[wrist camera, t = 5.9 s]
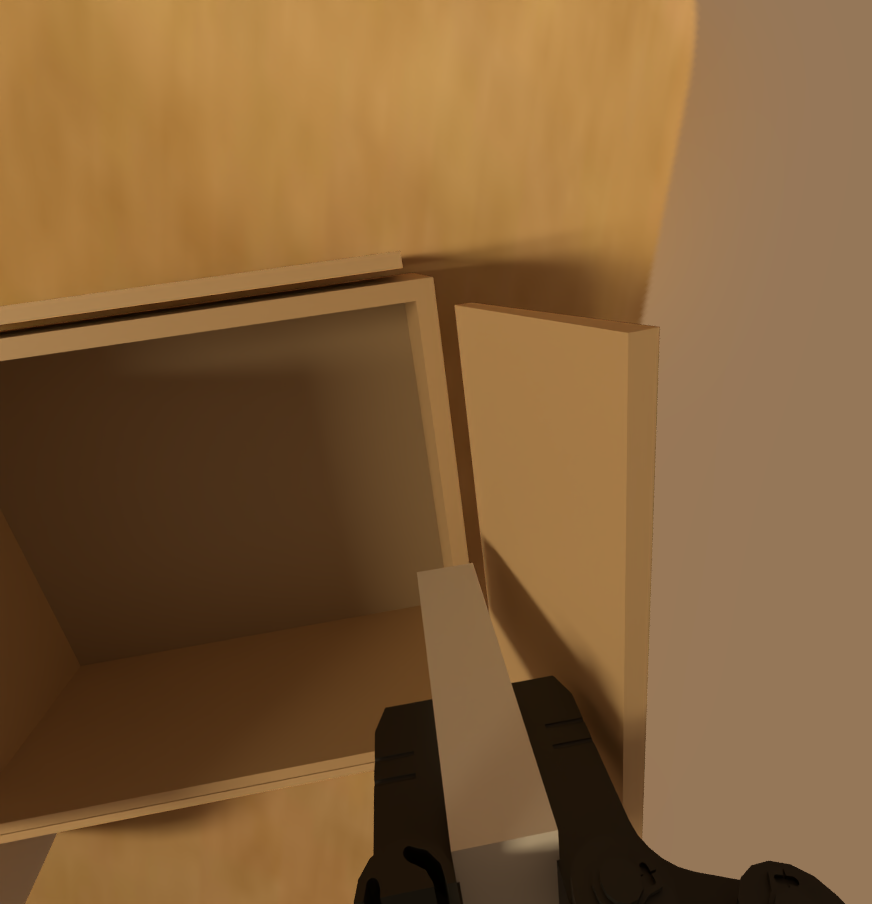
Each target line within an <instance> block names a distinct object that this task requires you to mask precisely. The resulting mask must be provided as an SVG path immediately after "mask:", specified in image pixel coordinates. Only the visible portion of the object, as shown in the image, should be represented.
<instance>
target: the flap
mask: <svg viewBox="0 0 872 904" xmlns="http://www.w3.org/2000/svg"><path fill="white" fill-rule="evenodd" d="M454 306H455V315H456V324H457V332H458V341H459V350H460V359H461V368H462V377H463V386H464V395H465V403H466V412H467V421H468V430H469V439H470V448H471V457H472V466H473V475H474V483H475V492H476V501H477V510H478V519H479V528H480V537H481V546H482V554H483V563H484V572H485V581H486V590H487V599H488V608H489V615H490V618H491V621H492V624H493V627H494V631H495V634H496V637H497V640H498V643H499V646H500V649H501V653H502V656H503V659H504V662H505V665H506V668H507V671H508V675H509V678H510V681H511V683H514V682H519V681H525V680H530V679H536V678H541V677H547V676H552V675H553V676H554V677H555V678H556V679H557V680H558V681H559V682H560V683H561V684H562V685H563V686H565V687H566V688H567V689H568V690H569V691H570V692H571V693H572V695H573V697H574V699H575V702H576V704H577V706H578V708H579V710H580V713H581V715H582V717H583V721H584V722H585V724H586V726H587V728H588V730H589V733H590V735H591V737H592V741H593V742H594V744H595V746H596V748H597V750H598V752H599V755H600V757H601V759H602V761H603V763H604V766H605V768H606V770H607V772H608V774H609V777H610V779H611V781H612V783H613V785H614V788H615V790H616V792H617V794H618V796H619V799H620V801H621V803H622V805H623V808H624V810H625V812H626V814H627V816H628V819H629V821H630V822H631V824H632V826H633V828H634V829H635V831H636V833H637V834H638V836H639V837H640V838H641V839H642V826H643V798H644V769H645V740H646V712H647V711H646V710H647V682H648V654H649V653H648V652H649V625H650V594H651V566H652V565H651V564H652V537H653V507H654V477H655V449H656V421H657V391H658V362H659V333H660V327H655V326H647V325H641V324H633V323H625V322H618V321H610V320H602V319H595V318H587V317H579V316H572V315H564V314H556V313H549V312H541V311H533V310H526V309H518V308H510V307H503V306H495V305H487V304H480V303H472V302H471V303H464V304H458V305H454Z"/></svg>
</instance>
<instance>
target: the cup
mask: <svg viewBox="0 0 872 904" xmlns="http://www.w3.org/2000/svg"><path fill="white" fill-rule="evenodd" d="M56 834H57V833H53V834H48V835H43V836H37V837H32V838H27V839H22V840H17V841H12V842H7V843H2V844H0V904H25V902H26V900H27V898H28V896H29V894H30V891H31V889H32V887H33V885H34V883H35V880H36V878H37V876H38V874H39V872H40V870H41V867H42V865H43V863H44V861H45V859H46V856H47V854H48V852H49V850H50V848H51V845H52V843H53V841H54V839H55V836H56Z"/></svg>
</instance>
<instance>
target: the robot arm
mask: <svg viewBox="0 0 872 904" xmlns="http://www.w3.org/2000/svg"><path fill="white" fill-rule="evenodd" d="M417 578H418V586H419V594H420V602H421V611H422V619H423V627H424V635H425V643H426V651H427V660H428V668H429V676H430V684H431V692H432V699H430V700H424V701H419V702H413V703H408V704H403V705H397V706H392V707H386V708H385V709H384V712H383V714H382V716H381V719H380V721H379V723H378V726H377V728H376V730H375V767H374V781H375V786H374V855H373V856H372V857H371V858H370V859H369V861H368V863H367V865H366V866H365V868H364V870H363V872H362V874H361V876H360V877H359V879H358V884H357V889H356V894H355V899H354V904H845V903H844V902H843V901H842V900H841V899H840V898H839V897H838V896H837V895H836V894H835V893H833V892H832V891H831V890H830V889H829V888H827V887H826V886H825V885H824V884H823V883H822V882H820V881H819V880H818V879H817V878H815V877H814V876H812V875H810V874H808V873H806V872H804V871H802V870H800V869H798V868H796V867H794V866H792V865H790V864H784V863H779V862H773V861H766V862H763V863H759V864H755V865H752V866H751V867H750V868H749V869H748V870H747V871H746V872H745V874H744V875H743V876H742V877H741V879H740V880H737V879H731V878H726V877H720V876H715V875H709V874H704V873H698V872H693V871H690V870H687V869H683V868H680V867H677V866H676V865H673V864H672V863H670V862H668V861H666V860H664V859H663V858H661V857H660V856H659V855H658V854H656V853H655V852H654V851H653V850H651V849H650V848H649V847H648V846H647V845H646V844H645V843H644V841H643V840H642V839H641V838H640V837H639V836H638V834H637V833H636V831H635V829H634V828H633V826H632V824H631V822H630V821H629V819H628V816H627V814H626V812H625V810H624V808H623V805H622V803H621V801H620V799H619V796H618V794H617V792H616V790H615V788H614V785H613V783H612V781H611V779H610V777H609V774H608V772H607V770H606V768H605V766H604V763H603V761H602V759H601V757H600V755H599V752H598V750H597V748H596V746H595V744H594V742H593V741H592V737H591V735H590V733H589V730H588V728H587V726H586V724H585V722H584V721H583V717H582V715H581V713H580V710H579V708H578V706H577V704H576V702H575V699H574V697H573V695H572V693H571V692H570V691H569V690H568V689H567V688H566V687H565V686H563V685H562V684H561V683H560V682H559V681H558V680H557V679H556V678H555V677H554V676H553V675H552V676H547V677H541V678H536V679H530V680H525V681H519V682H514V683H511V681H510V678H509V675H508V671H507V668H506V665H505V662H504V659H503V656H502V653H501V649H500V646H499V643H498V640H497V637H496V634H495V631H494V627H493V624H492V621H491V618H490V615H489V612H488V609H487V605H486V602H485V599H484V596H483V593H482V590H481V587H480V583H479V580H478V577H477V574H476V571H475V568H474V565H473V563H469V564H463V565H457V566H451V567H445V568H439V569H433V570H427V571H421V572H417Z"/></svg>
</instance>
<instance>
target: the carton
mask: <svg viewBox="0 0 872 904" xmlns="http://www.w3.org/2000/svg"><path fill="white" fill-rule="evenodd" d="M400 268H403V265H402V258H401V251H395V252H388V253H381V254H373V255H366V256H359V257H352V258H345V259H338V260H330V261H323V262H316V263H309V264H302V265H294V266H287V267H280V268H273V269H266V270H259V271H251V272H244V273H237V274H230V275H223V276H215V277H208V278H201V279H194V280H187V281H179V282H172V283H165V284H158V285H151V286H144V287H136V288H129V289H122V290H115V291H108V292H100V293H93V294H86V295H79V296H72V297H64V298H57V299H50V300H43V301H36V302H29V303H21V304H14V305H7V306H0V325H3V324H10V323H17V322H24V321H31V320H38V319H45V318H53V317H60V316H67V315H74V314H81V313H88V312H95V311H102V310H109V309H116V308H123V307H131V306H138V305H145V304H152V303H159V302H166V301H173V300H180V299H187V298H194V297H201V296H208V295H216V294H223V293H230V292H237V291H244V290H251V289H258V288H265V287H272V286H279V285H286V284H294V283H301V282H308V281H315V280H322V279H329V278H336V277H343V276H350V275H357V274H364V273H371V272H379V271H386V270H393V269H400ZM463 564H469V558H468V550H467V542H466V534H465V527H464V519H463V511H462V503H461V495H460V487H459V479H458V471H457V463H456V455H455V447H454V439H453V431H452V423H451V415H450V407H449V399H448V391H447V383H446V375H445V367H444V359H443V351H442V343H441V335H440V327H439V319H438V311H437V303H436V295H435V287H434V279H433V277H431V276H426V275H421V274H417V273H407V274H399V275H392V276H385V277H378V278H371V279H364V280H357V281H350V282H343V283H336V284H329V285H322V286H315V287H308V288H301V289H294V290H287V291H280V292H273V293H265V294H258V295H251V296H244V297H237V298H230V299H223V300H216V301H209V302H202V303H195V304H188V305H181V306H174V307H167V308H160V309H153V310H146V311H138V312H131V313H124V314H117V315H110V316H103V317H96V318H89V319H82V320H75V321H68V322H61V323H54V324H47V325H40V326H33V327H26V328H19V329H12V330H4V331H0V844H2V843H7V842H12V841H17V840H22V839H27V838H32V837H37V836H43V835H48V834H53V833H58V832H63V831H68V830H73V829H78V828H83V827H88V826H94V825H99V824H104V823H109V822H114V821H119V820H124V819H129V818H134V817H139V816H144V815H150V814H155V813H160V812H165V811H170V810H175V809H180V808H185V807H190V806H195V805H201V804H206V803H211V802H216V801H221V800H226V799H231V798H236V797H241V796H246V795H252V794H257V793H262V792H267V791H272V790H277V789H282V788H287V787H292V786H297V785H302V784H308V783H313V782H318V781H323V780H328V779H333V778H338V777H343V776H348V775H353V774H359V773H364V772H369V771H374V767H375V730H376V728H377V726H378V723H379V721H380V719H381V716H382V714H383V712H384V709H385V708H386V707H392V706H397V705H403V704H408V703H413V702H419V701H424V700H430V699H432V692H431V684H430V676H429V668H428V660H427V651H426V643H425V635H424V627H423V619H422V611H421V602H420V594H419V586H418V578H417V572H421V571H427V570H433V569H439V568H445V567H451V566H457V565H463Z"/></svg>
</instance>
